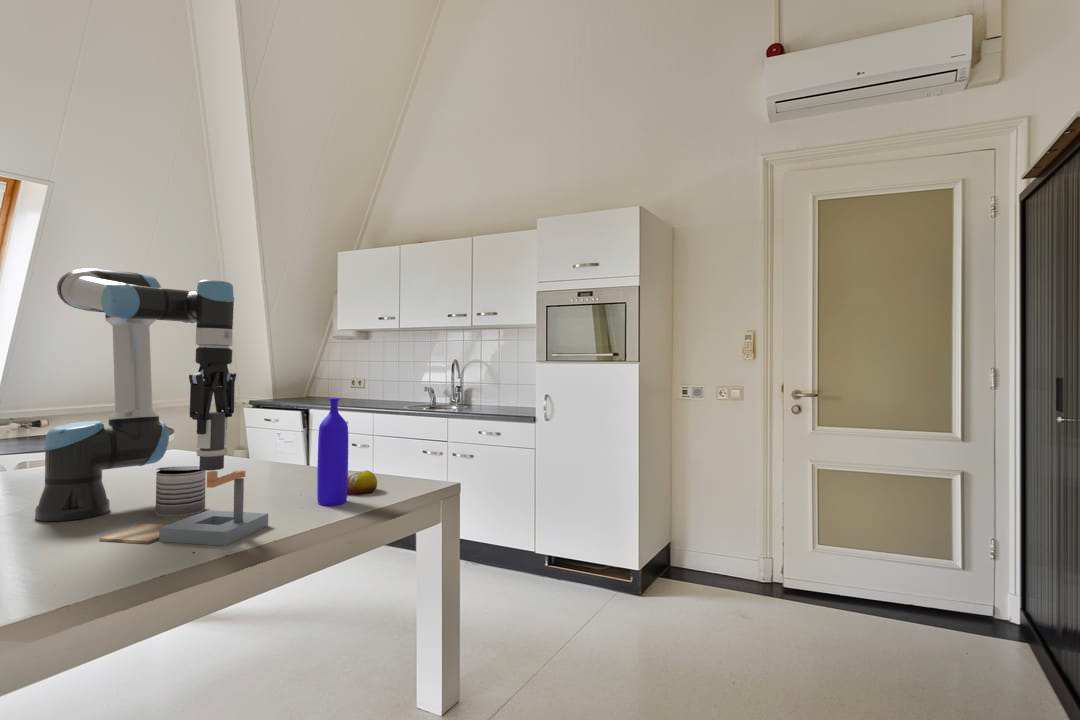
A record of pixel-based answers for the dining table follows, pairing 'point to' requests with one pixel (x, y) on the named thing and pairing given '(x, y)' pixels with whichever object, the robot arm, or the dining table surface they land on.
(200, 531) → the socket
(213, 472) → the ball-ended peach stick
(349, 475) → the fruit
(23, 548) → the dining table surface
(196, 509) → the can
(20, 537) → the dining table surface
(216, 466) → the plug
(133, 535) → the coaster
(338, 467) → the bottle
